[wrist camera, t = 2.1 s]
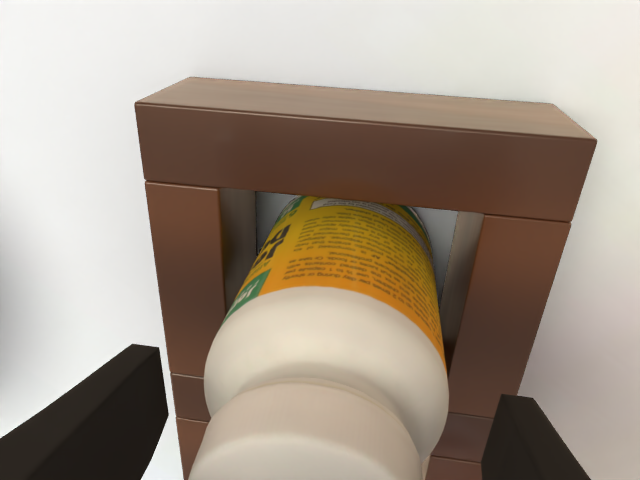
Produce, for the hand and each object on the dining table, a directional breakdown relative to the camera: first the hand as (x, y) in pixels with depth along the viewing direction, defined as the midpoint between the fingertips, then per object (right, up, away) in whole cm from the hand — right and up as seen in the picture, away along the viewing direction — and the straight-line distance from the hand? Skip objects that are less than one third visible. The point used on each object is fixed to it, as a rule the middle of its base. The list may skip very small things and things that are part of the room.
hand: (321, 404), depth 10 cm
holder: (+1, -1, +8) cm, 8 cm away
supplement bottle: (+1, +3, +6) cm, 7 cm away
